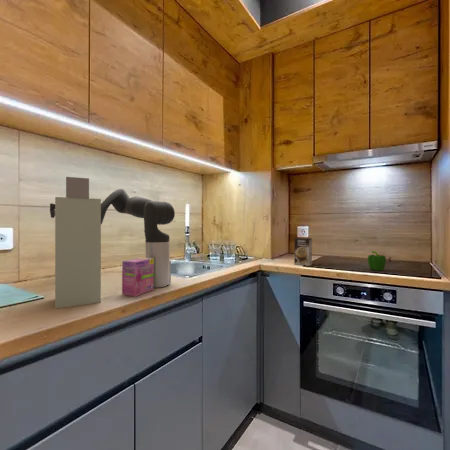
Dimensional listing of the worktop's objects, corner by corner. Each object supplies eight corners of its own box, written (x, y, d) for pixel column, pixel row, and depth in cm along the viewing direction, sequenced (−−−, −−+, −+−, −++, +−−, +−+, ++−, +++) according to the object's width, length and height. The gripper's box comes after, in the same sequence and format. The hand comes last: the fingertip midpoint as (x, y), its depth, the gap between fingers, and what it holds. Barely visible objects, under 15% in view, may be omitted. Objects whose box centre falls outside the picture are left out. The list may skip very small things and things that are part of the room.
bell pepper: (389, 271, 144) (390, 251, 144) (377, 271, 142) (377, 252, 142) (376, 268, 152) (376, 250, 152) (364, 269, 150) (364, 250, 150)
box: (135, 296, 93) (135, 261, 93) (121, 295, 95) (121, 260, 95) (154, 290, 102) (154, 258, 102) (141, 288, 104) (141, 257, 104)
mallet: (67, 202, 99) (67, 185, 99) (85, 203, 102) (85, 186, 102) (66, 197, 81) (66, 176, 81) (89, 198, 84) (89, 178, 84)
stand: (55, 298, 90) (55, 200, 90) (95, 294, 96) (95, 201, 96) (55, 308, 80) (55, 196, 79) (100, 302, 86) (100, 199, 86)
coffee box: (293, 264, 166) (294, 237, 166) (297, 263, 172) (297, 237, 172) (309, 266, 161) (309, 238, 161) (312, 264, 167) (312, 237, 167)
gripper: (91, 231, 113) (95, 209, 102) (49, 231, 106) (49, 207, 94) (90, 215, 117) (94, 192, 105) (50, 214, 109) (49, 190, 97)
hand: (73, 200), depth 100 cm, fingers open, 8 cm apart
